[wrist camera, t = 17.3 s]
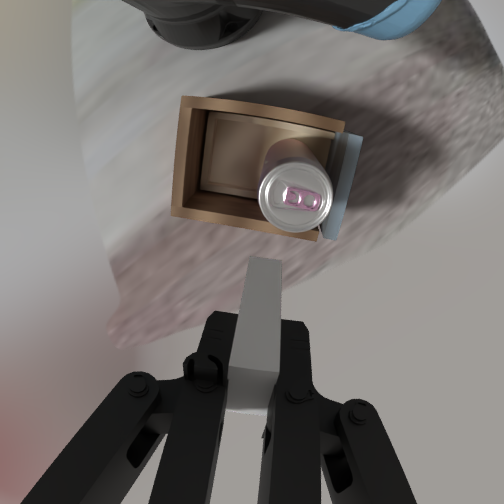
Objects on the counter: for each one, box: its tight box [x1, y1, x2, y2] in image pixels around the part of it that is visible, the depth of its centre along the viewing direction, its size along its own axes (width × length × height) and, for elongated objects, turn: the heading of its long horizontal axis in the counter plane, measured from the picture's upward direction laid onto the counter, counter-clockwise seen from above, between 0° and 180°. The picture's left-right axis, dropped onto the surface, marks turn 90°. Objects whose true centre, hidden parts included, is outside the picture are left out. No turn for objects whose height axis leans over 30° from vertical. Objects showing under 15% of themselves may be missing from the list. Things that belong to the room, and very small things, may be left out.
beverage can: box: [257, 139, 333, 233], centre depth 28 cm, size 6×6×15 cm
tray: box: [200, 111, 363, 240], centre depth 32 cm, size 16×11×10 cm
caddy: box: [171, 96, 345, 241], centre depth 33 cm, size 16×13×9 cm
